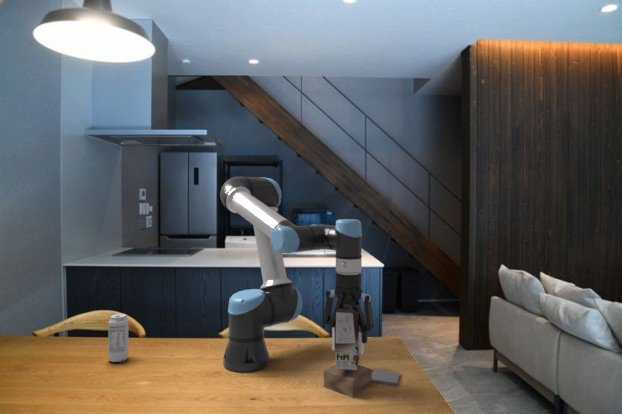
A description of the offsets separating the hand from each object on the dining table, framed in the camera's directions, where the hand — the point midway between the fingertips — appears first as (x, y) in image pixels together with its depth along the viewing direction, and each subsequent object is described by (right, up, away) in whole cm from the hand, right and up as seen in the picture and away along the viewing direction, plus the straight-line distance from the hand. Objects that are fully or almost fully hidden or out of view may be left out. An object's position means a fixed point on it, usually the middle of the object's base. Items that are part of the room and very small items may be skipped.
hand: (348, 350), depth 115 cm
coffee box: (0, -4, 0) cm, 4 cm away
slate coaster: (+12, -10, +5) cm, 16 cm away
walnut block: (0, -11, 0) cm, 11 cm away
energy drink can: (-76, -10, +18) cm, 78 cm away
